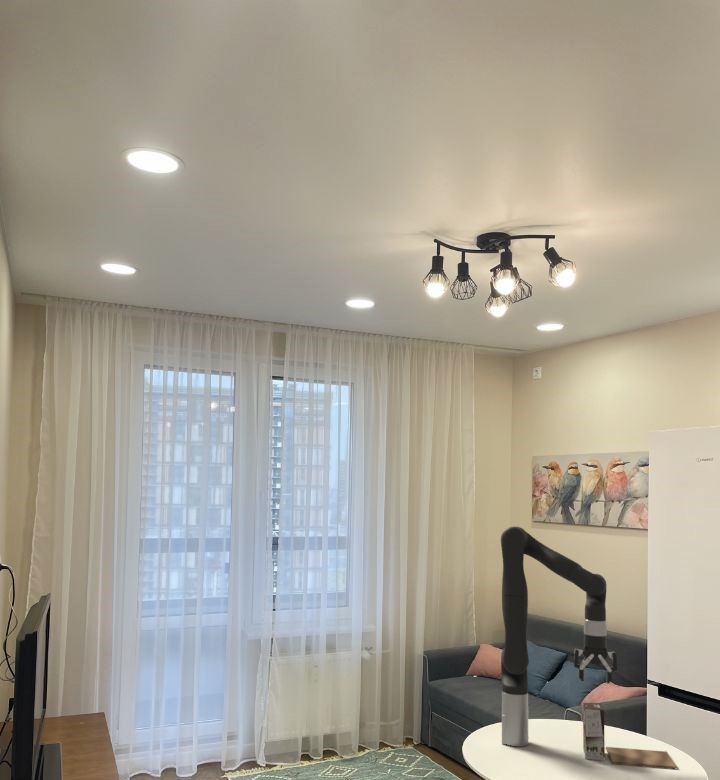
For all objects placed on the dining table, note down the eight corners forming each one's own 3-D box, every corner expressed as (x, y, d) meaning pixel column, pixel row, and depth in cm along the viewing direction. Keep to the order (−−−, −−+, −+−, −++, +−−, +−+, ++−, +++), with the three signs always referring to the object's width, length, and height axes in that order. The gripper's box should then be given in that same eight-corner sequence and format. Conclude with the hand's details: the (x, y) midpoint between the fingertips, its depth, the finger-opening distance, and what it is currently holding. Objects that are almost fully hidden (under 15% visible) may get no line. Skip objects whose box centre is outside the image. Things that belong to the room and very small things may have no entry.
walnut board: (612, 763, 247) (612, 761, 247) (605, 749, 262) (605, 746, 262) (677, 769, 244) (676, 766, 244) (666, 754, 258) (666, 751, 258)
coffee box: (605, 761, 250) (604, 710, 252) (585, 759, 251) (584, 708, 253) (602, 752, 258) (601, 703, 261) (582, 750, 260) (582, 701, 262)
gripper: (575, 633, 258) (575, 682, 256) (618, 636, 256) (618, 686, 254) (572, 629, 266) (572, 677, 264) (614, 632, 263) (614, 681, 261)
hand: (595, 681), depth 259 cm, fingers open, 8 cm apart
